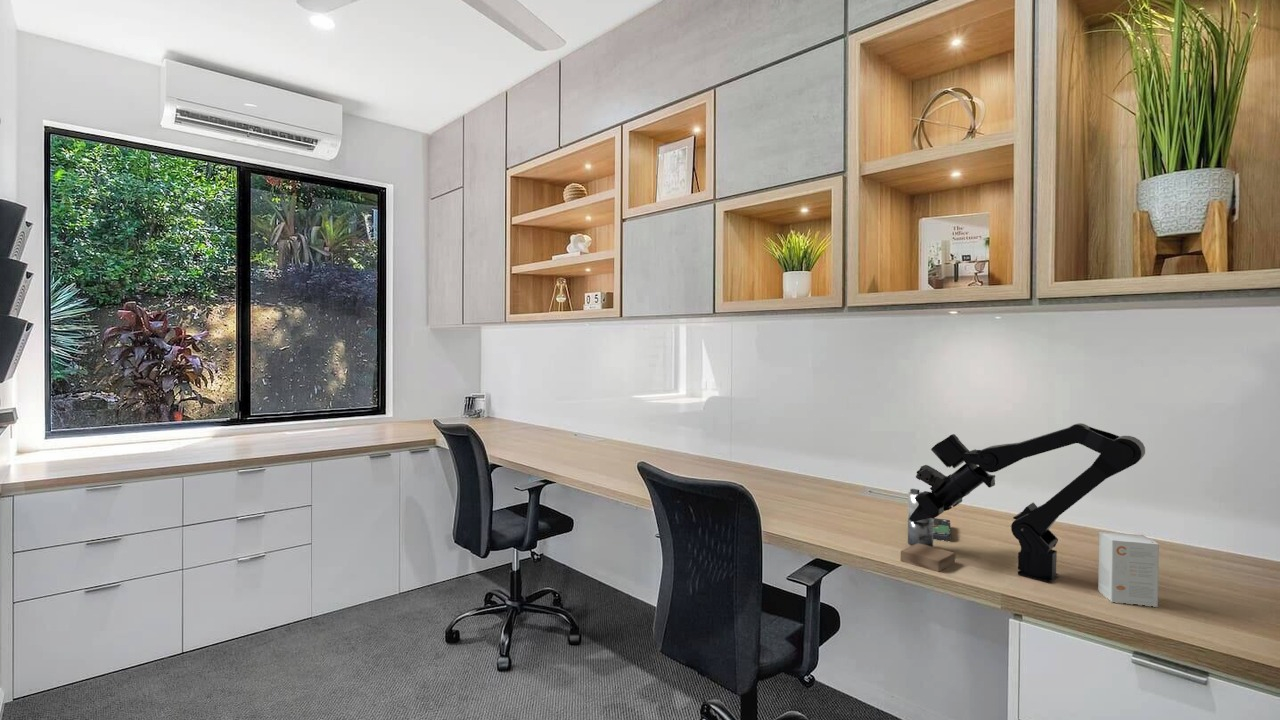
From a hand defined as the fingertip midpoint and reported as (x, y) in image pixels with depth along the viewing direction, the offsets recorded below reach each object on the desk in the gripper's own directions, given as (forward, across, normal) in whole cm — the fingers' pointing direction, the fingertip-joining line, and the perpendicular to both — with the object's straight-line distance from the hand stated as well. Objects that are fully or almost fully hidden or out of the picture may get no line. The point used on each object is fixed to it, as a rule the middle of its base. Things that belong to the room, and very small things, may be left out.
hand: (915, 517), depth 156 cm
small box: (-25, +2, +36) cm, 44 cm away
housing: (+4, 0, +6) cm, 7 cm away
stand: (+1, +10, +10) cm, 14 cm away
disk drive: (+7, -16, +5) cm, 18 cm away
